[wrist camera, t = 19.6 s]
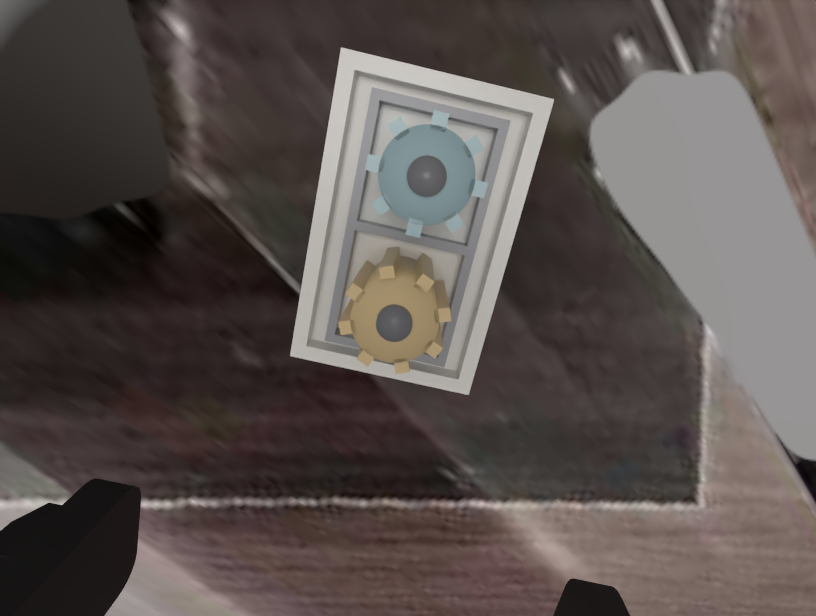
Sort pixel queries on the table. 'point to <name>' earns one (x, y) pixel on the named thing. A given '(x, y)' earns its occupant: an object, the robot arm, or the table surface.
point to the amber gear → (396, 310)
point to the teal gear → (426, 174)
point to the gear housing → (372, 234)
